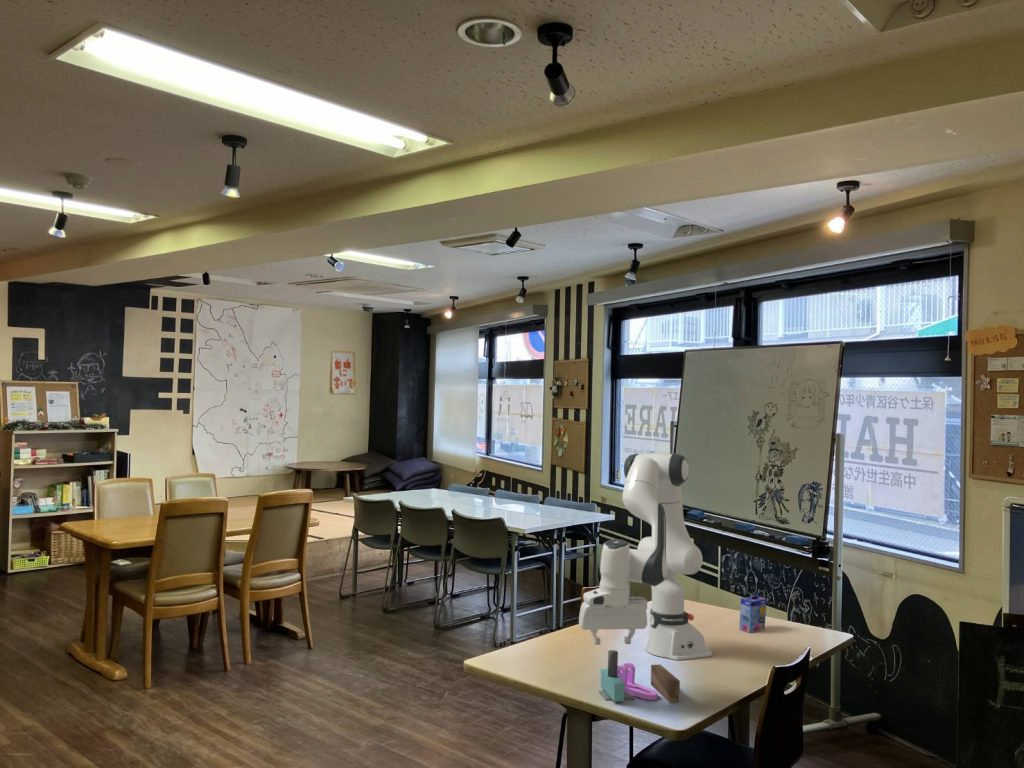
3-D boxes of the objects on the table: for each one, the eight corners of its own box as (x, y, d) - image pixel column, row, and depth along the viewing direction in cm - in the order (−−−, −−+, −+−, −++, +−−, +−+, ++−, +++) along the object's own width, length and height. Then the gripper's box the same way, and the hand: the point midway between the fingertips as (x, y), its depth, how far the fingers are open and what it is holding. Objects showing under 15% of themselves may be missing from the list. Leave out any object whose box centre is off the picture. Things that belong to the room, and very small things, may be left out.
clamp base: (659, 684, 229) (660, 664, 229) (679, 702, 215) (679, 681, 215) (594, 687, 225) (595, 667, 225) (610, 705, 211) (610, 684, 211)
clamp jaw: (610, 685, 225) (611, 645, 225) (624, 700, 213) (625, 658, 213) (600, 685, 224) (601, 645, 224) (614, 701, 212) (615, 658, 213)
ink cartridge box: (750, 633, 285) (751, 595, 286) (738, 629, 290) (739, 592, 290) (766, 629, 291) (767, 592, 291) (754, 626, 295) (755, 589, 296)
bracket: (613, 687, 223) (615, 664, 223) (623, 684, 227) (625, 660, 227) (651, 701, 214) (653, 677, 215) (661, 697, 219) (662, 673, 219)
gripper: (643, 593, 224) (641, 640, 224) (578, 593, 220) (576, 641, 220) (651, 598, 218) (649, 646, 218) (584, 599, 214) (582, 647, 214)
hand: (612, 643), depth 219 cm, fingers open, 8 cm apart
